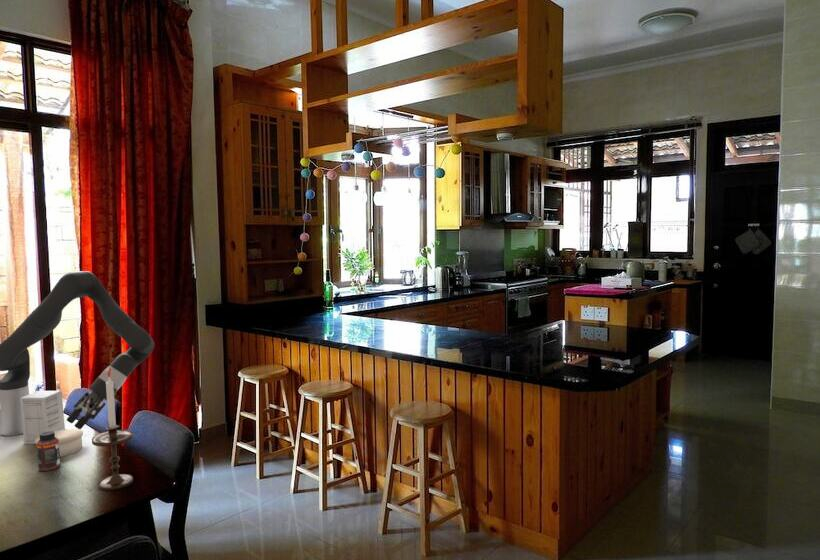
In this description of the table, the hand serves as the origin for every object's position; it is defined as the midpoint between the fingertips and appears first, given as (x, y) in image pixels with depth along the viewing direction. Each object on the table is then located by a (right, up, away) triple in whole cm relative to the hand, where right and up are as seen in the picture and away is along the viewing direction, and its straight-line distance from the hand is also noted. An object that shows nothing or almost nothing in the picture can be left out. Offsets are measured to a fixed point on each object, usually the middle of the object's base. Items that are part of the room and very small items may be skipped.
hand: (72, 424), depth 186 cm
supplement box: (-22, -11, +21) cm, 33 cm away
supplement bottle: (-5, -13, -4) cm, 14 cm away
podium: (-10, -11, +10) cm, 18 cm away
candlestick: (+22, -13, -17) cm, 31 cm away
